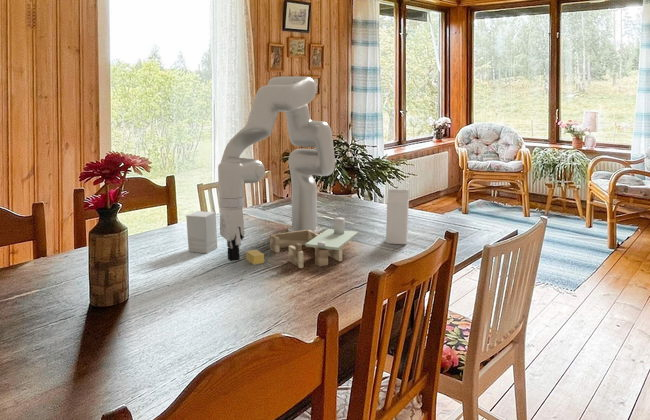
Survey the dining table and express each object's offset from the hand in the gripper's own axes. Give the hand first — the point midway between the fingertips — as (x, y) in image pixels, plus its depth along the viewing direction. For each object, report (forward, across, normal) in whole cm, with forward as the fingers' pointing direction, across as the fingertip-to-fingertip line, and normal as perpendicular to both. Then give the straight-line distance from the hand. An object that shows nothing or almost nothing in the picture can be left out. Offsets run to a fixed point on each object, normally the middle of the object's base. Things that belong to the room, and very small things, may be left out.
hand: (233, 259), depth 172 cm
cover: (-4, +7, +31) cm, 32 cm away
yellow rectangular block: (+2, 0, +7) cm, 7 cm away
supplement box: (+2, -20, -4) cm, 21 cm away
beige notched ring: (+1, +2, +24) cm, 24 cm away
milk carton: (+2, +3, +60) cm, 60 cm away
